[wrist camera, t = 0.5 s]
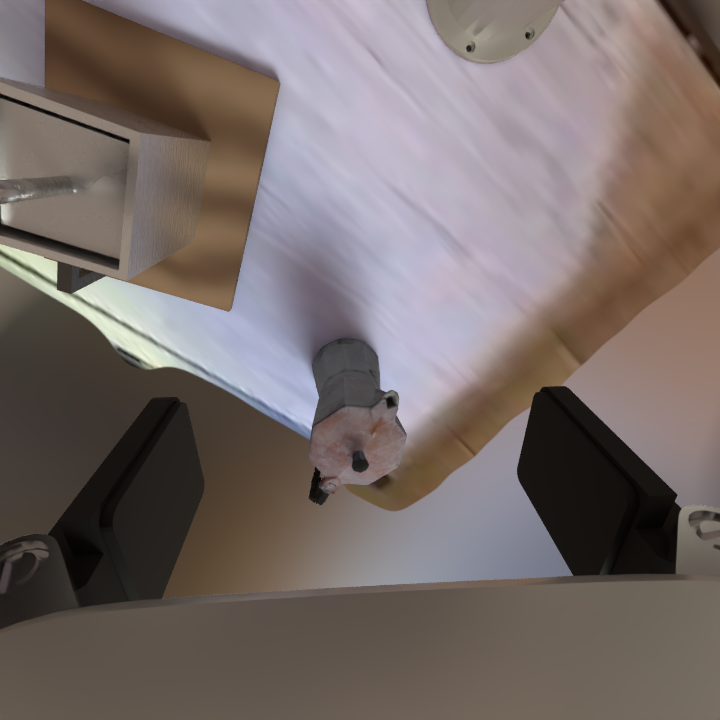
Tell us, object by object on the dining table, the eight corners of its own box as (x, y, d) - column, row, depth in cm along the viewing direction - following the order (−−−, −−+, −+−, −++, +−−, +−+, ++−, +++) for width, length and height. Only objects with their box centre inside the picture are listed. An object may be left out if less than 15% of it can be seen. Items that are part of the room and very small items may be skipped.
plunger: (5, 98, 26) (-259, 51, 14) (136, 144, 27) (-8, 136, 16) (9, 222, 29) (-203, 264, 18) (126, 257, 31) (0, 317, 19)
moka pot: (407, 338, 52) (444, 434, 34) (351, 426, 57) (358, 548, 40) (340, 306, 49) (343, 391, 31) (289, 401, 55) (267, 519, 37)
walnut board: (54, -10, 35) (45, -15, 34) (280, 83, 39) (278, 81, 38) (51, 255, 45) (44, 257, 44) (231, 308, 48) (229, 311, 47)
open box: (103, 101, 38) (-40, 67, 23) (211, 141, 39) (140, 133, 25) (95, 237, 43) (-25, 276, 29) (191, 266, 45) (123, 317, 31)
